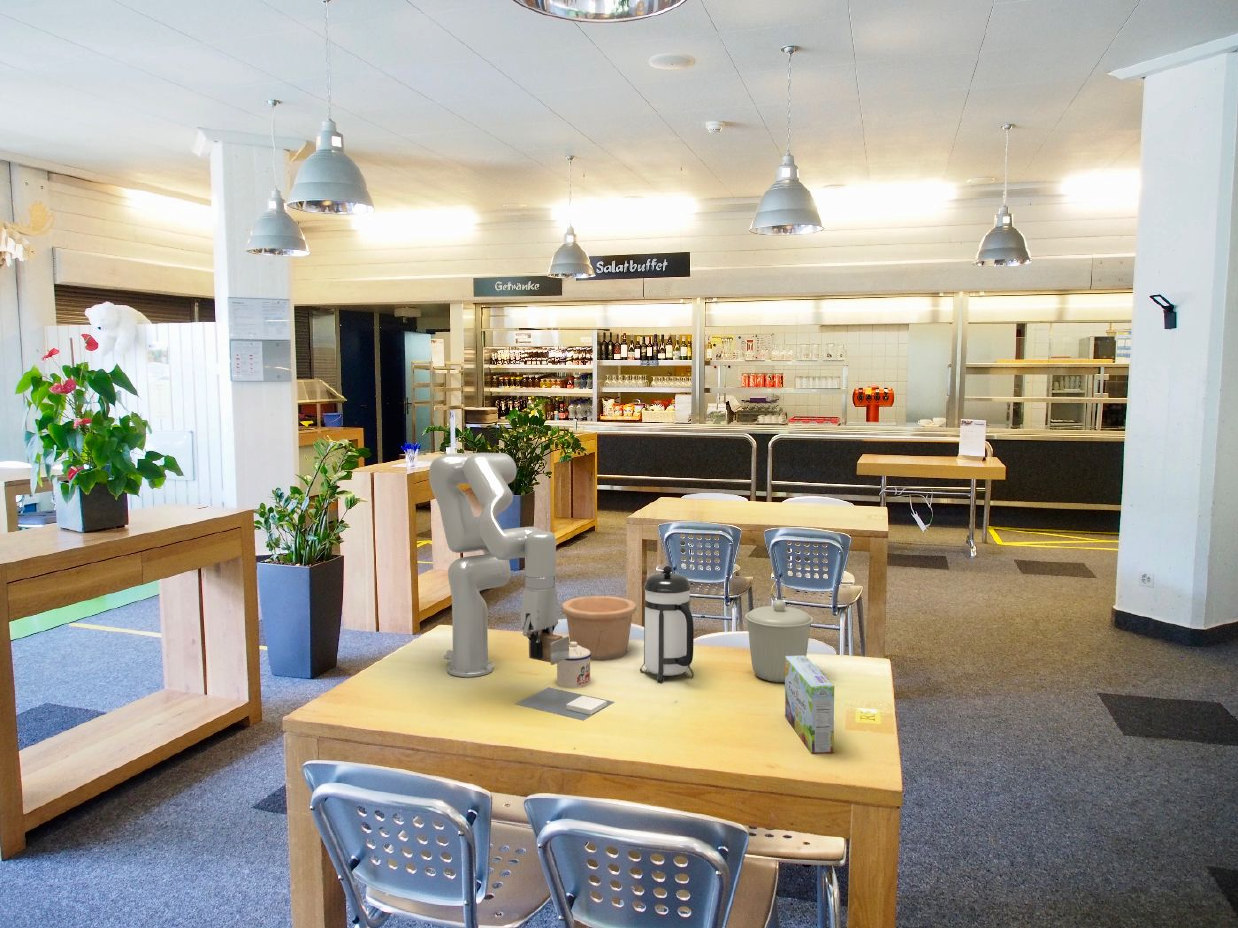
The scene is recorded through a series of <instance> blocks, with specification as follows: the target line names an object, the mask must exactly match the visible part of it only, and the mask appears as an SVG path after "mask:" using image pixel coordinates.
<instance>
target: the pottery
mask: <svg viewBox="0 0 1238 928" xmlns="http://www.w3.org/2000/svg"><path fill="white" fill-rule="evenodd" d="M637 607H638V606H637V604H636V602H634V601H633V600H631V599H628V598H623V597H619V596H612V595H592V596H591V595H590V596H588V595H587V596H580V597H575V598H574V597H573V598H571V599H568V600H566V601H564V602H563V603H562V604H561V610H562V613H563V614H565V615H566V623H567V630H568V636H569V643H570V642H577V645H579V646H581V647H583V648H586V649H588V650H589V651H590V653H591V656H590V661H609V660H616V659H619V658H622V657H624V656H626V654H627V653H628V650H629V649H628V648H629V641H630V633H631V628H632V621H633V615H634V614H635V613H636V611H637Z"/></svg>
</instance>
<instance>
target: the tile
mask: <svg viewBox="0 0 1238 928" xmlns="http://www.w3.org/2000/svg"><path fill="white" fill-rule="evenodd" d="M587 696H588V695H586V696H581V697H579V698H577V699H575V700H573V701H571V702H570V703H568V704H566V709H567V710H572V711H576V712H580V713H584V714H589V715H592V714H593V713H595V712H597V711H598V710H600V709H602V708H604V707H605V706H607V701H605V700H606V699H604V700H600V699H601V698H600V699H596V698H597V697H595V698H591V697H592V696H591V697H587ZM604 709H605V708H604ZM602 710H603V709H602ZM597 713H598V712H597ZM592 716H593V715H592Z"/></svg>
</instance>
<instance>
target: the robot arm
mask: <svg viewBox="0 0 1238 928" xmlns="http://www.w3.org/2000/svg"><path fill="white" fill-rule="evenodd" d="M517 473H518V469H517V465H516V462H515V460H514V458H512V457H511V455H510V454H508V453H504V452H497V453H496V452H471V453H470V452H469V453H468V452H467V453H450V454H449V453H448V454H444V455H440V456H438V457H436V458H434V459H433V460H432V461H431V464H430V467H429V473H428V479H429V485H430V488H431V492H432V493H433V495H434V498H435V500H436V503H437V505H438V509H439V511H440V512H439V513H440V517H441V520H442V526H443V531H444V536H445V540H446V544H447V547H448V549H449V550H450V551H451V552H453V553H456V554H465V553H472V552H478V551H482V553H483V554H477V555H471V556H464V557H459V558H458V559H457V558H456V559H455V560H454V561H452V562H451V563H450V565H449V566H448V570H447V580H448V583H449V584H448V585H449V590H450V595H451V615H452V616H451V618H452V650H451V649H448V650H447V651H446V653H445V654H444V655H443V659H445V660H449V664H448V666H447V668H446V669H447V670H446V671H447V673H448V674H449V675H451V676H454V677H462V678H474V677H480V676H484V675H487V674H490V673H492V672H493V671H494V668H495V667H494V663H493V662H491V661H489V643H488V642H489V638H488V636H489V635H488V634H489V632H488V631H489V630H488V627H489V625H488V618H489V617H488V606H487V602H486V601H485V599H484V598H483V597H482V595H481V593H480V592H481V591H483V590H487V589H488V590H489V589H493V588H499V587H502V586H505V585H506V584H507V583H508V582H509V581H510V578H511V563H510V560H515V559H522V558H523V559H524V585H525V587H524V589H523V593H522V597H521V598H522V599H521V604H520V605H521V607H520V628H521V629H522V636H523V637H526V638H527V639H528V643H529V642H530V652H531V657H532V658H537V659H541V658H542V643H541V642H540V641H541V632H542V633H548V634H554V630H555V628H556V627H557V625H558V624H559V596H558V590H557V546H556V545H557V542H556V541H557V538H556V535H555V534H554V533H553V532H551V531H547V530H542V529H540V528H538V527H536V526H524V527H514V528H513V527H512V528H506V529H503V528H502V526H501V524H500V523H499V521H498V520H497V519H496V518H495V517H497V516H498V515H500V513H502V512H504V511H506V510H507V508H508V507H510V505H511V504H512V503H513V499H514V494H513V492H512V490H511V489H510V487H509V486H508V484H510V483H513V482H514V480H515V479H516V476H517ZM458 485H469V486H470V488H471V490H472V492H473V494H474V495H475V497H476V499H477V500H478V502H479V504H480V505H481V507H482V510H481V512H480V515H479V516H476V515H474V514H473V510H472V505H471V501H470V499H469V498H468V496H467V495H466V494H465V493H464V492H463V491H462V489H460V488H459V487H458ZM534 632H535V633H536V635H535V634H534Z"/></svg>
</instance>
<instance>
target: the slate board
mask: <svg viewBox="0 0 1238 928" xmlns="http://www.w3.org/2000/svg"><path fill="white" fill-rule="evenodd" d="M581 696H587V697H591V698H596V699H600V700H605V701H607V706H605V707H604V708H602V709H600V710H598V711H597V712H595V713H593V714H592V715H589V714H584V713H580V712H576V711H572V710H567V709H566V704H568V703H570V702H571V701H573V700H575V699H577V698H579V697H581ZM614 703H615V701H613V700H607V699H603V698H600V697H595V696H592V695H591V696H589V695H585V694H581V693H576V692H572V691H567V690H563V689H560V688H559V689H558V688H554V687H546V688H544V689H542V690H540V691H538V692H536V693H534V694H532V695H530V696H527V697H526V698H524V699H522V700H520V701H518V702H516V703H515V705H517V706H521V707H525V708H530V709H533V710H538V711H542V712H546V713H550V714H554V715H559V716H563V717H566V718H570V719H575V720H578V721H586V720H587V719H589V718H591V717H592V716H593V715H596V714H597V713H599V712H600V711H603V710H604V709H606V708H608V707H609V706H610V705H612V704H614Z"/></svg>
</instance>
